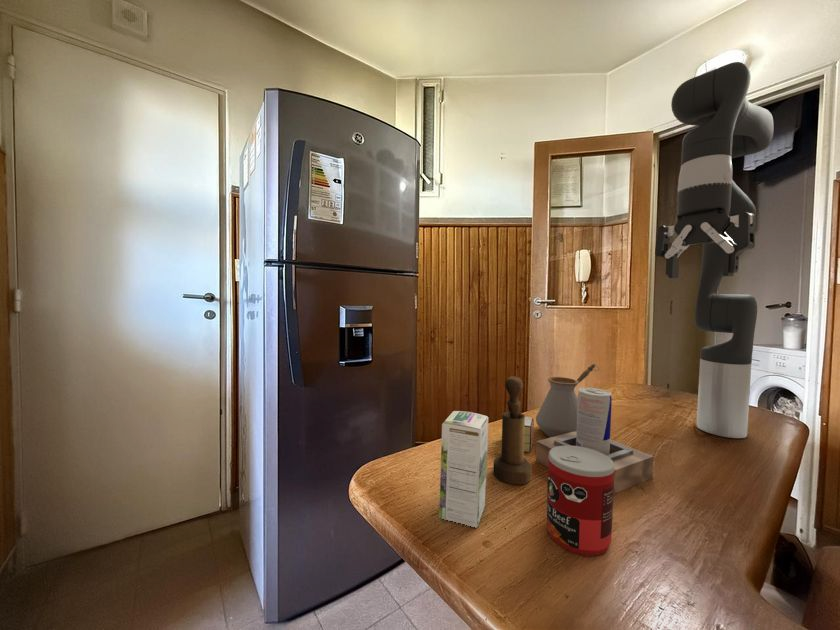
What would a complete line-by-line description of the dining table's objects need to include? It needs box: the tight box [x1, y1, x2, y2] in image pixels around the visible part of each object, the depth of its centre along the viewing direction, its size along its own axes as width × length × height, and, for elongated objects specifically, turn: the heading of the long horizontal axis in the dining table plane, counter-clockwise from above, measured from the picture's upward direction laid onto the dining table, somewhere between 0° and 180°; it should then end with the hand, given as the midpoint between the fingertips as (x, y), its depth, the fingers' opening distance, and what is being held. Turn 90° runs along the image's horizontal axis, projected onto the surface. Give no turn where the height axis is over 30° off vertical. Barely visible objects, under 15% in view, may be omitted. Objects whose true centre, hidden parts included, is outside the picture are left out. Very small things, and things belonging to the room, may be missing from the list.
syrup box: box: [438, 410, 489, 529], centre depth 50 cm, size 6×6×14 cm
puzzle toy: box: [524, 416, 535, 453], centre depth 74 cm, size 6×6×6 cm
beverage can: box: [576, 387, 613, 455], centre depth 64 cm, size 6×6×15 cm
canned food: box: [545, 445, 615, 557], centre depth 46 cm, size 8×8×11 cm
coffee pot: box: [535, 363, 600, 438], centre depth 83 cm, size 21×12×15 cm, turn 127°
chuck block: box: [535, 431, 654, 495], centre depth 64 cm, size 14×14×5 cm
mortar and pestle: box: [492, 375, 532, 486], centre depth 61 cm, size 7×6×18 cm
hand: (698, 277), depth 63 cm, fingers open, 8 cm apart
